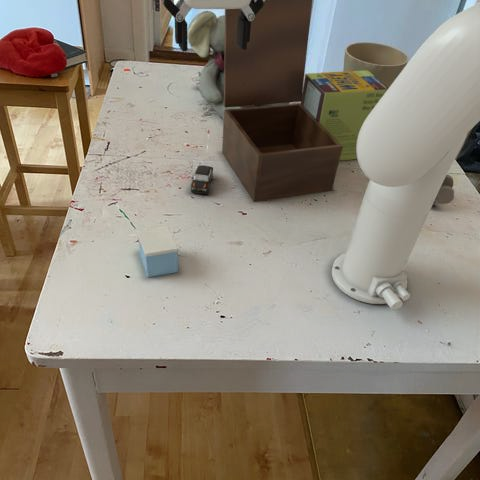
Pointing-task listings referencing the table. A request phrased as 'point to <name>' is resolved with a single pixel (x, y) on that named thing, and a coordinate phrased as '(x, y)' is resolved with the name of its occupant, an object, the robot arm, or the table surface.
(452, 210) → the table surface
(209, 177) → the toy car
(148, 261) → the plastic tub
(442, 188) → the figurine character
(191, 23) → the plush elephant
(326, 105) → the protein box
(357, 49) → the plant pot
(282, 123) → the chest
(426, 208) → the robot arm
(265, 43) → the lid
